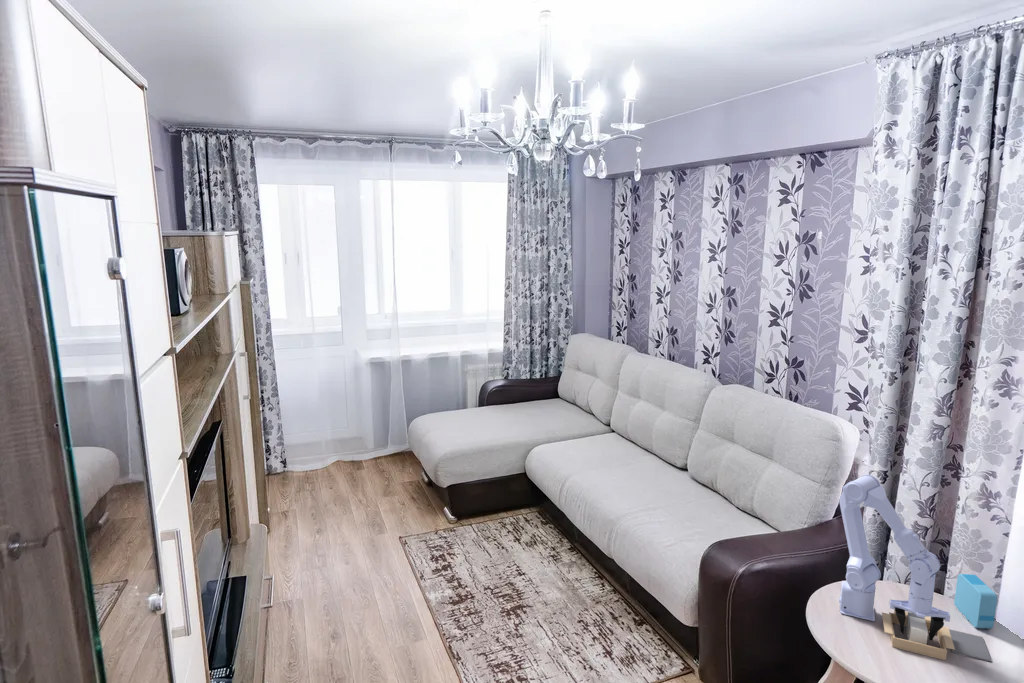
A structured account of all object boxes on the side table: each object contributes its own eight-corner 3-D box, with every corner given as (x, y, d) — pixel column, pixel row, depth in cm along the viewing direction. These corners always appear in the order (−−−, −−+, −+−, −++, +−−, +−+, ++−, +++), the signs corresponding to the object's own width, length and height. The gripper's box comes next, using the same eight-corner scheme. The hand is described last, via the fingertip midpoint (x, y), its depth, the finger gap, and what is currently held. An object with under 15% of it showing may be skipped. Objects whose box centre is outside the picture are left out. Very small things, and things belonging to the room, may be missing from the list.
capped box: (909, 646, 175) (911, 627, 174) (905, 629, 182) (907, 612, 181) (925, 650, 173) (927, 631, 172) (921, 633, 180) (923, 615, 179)
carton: (884, 644, 176) (885, 634, 175) (880, 615, 189) (881, 606, 188) (954, 662, 168) (955, 651, 168) (944, 630, 181) (946, 620, 181)
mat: (951, 652, 172) (952, 651, 172) (945, 629, 182) (945, 628, 182) (991, 662, 168) (991, 660, 168) (981, 638, 178) (982, 636, 178)
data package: (993, 631, 181) (998, 595, 178) (976, 630, 181) (981, 594, 179) (968, 606, 192) (973, 572, 190) (953, 605, 193) (957, 571, 191)
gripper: (893, 595, 175) (888, 636, 177) (954, 608, 168) (948, 651, 171) (890, 582, 181) (886, 622, 183) (949, 594, 174) (944, 636, 177)
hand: (916, 635), depth 178 cm, fingers open, 6 cm apart
